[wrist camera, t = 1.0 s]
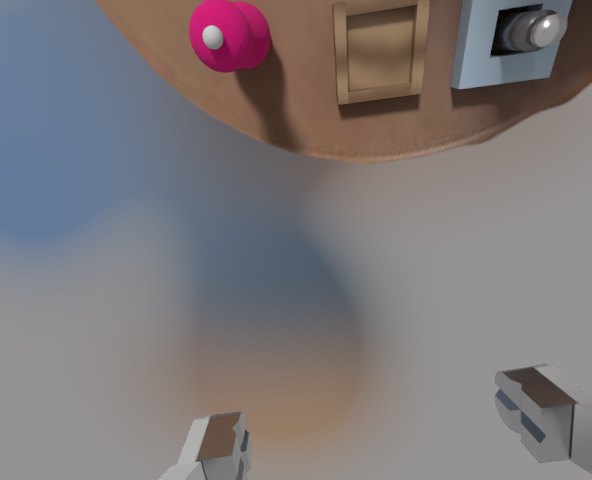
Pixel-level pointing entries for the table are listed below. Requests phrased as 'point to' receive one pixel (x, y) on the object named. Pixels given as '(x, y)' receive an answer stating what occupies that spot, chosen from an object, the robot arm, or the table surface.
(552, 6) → the socket block
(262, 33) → the pepper mill
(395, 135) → the table surface
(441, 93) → the table surface
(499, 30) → the round-tipped peg
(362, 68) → the tray
